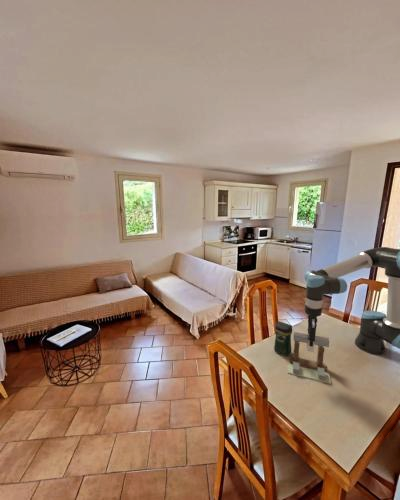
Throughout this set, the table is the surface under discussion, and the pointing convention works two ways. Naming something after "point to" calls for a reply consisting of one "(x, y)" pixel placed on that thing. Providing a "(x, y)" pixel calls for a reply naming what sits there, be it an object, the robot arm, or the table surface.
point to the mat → (309, 373)
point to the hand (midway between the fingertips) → (310, 348)
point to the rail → (303, 337)
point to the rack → (308, 362)
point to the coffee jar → (283, 338)
